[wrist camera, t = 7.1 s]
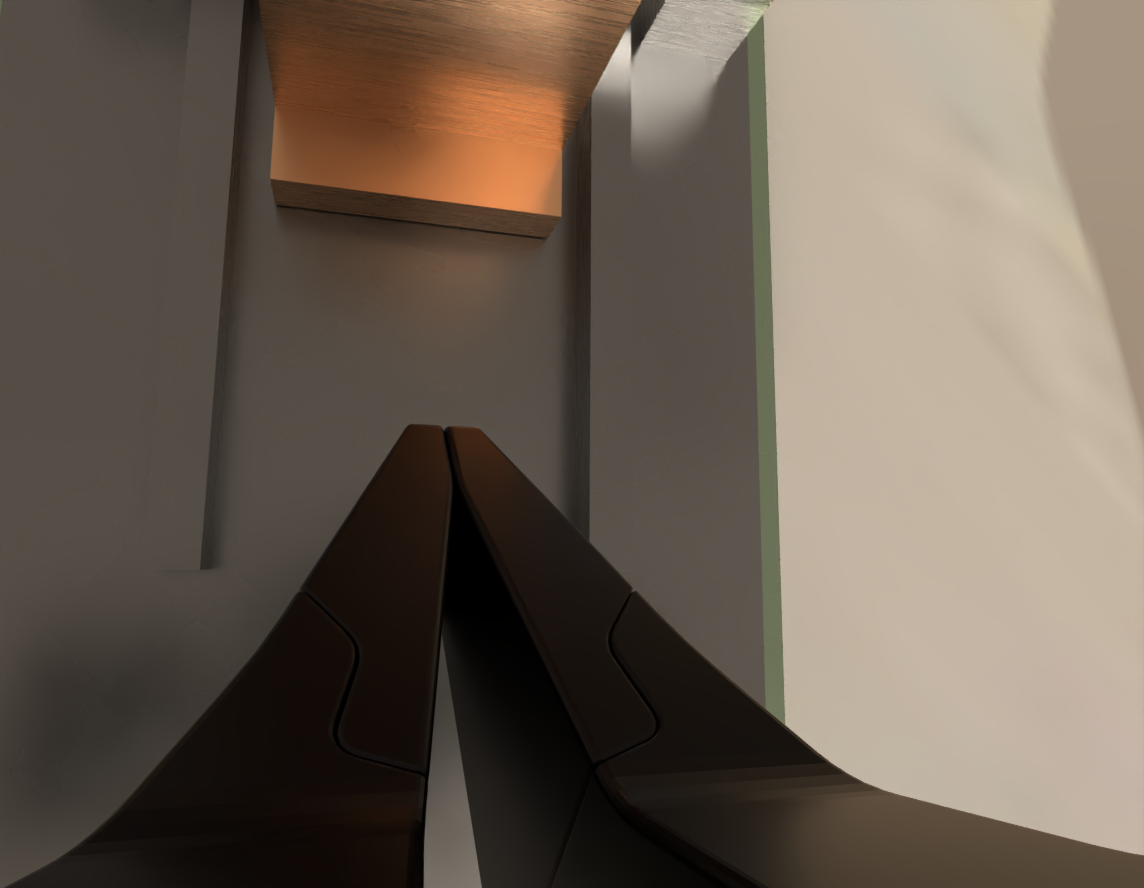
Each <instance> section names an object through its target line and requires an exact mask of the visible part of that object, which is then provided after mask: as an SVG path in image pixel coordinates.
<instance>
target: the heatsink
mask: <svg viewBox="0 0 1144 888" xmlns="http://www.w3.org/2000/svg"><path fill="white" fill-rule="evenodd" d="M772 2H773V0H641V2H640V4H639V6H638V8H637V10H636V12H635V14H634V16H633V17H632V19H631V21H630V23H629V25H628V27H627V29H626V31H625V33H624V34H623V36H622V38H621V40H620V42H619V44H618V46H617V48H616V50H615V51H614V53H613V55H612V57H611V59H610V61H609V63H608V65H607V67H606V68H605V70H604V72H603V74H602V76H601V78H600V80H599V82H598V84H597V85H596V87H595V89H594V91H593V93H592V95H591V97H590V99H589V101H588V102H587V104H586V106H585V108H584V110H583V112H582V114H581V116H580V118H579V119H578V121H577V123H576V125H575V127H574V129H573V131H572V133H571V135H570V136H569V138H568V140H567V142H566V144H565V146H564V148H563V150H562V210H561V218H560V220H559V221H558V223H557V225H556V226H555V228H554V229H553V231H552V233H551V234H550V236H549V237H548V238H544V237H535V236H527V235H519V234H511V233H503V232H495V231H486V230H478V229H470V228H462V227H454V226H446V225H438V224H429V223H421V222H413V221H405V220H397V219H389V218H381V217H372V216H364V215H356V214H348V213H340V212H332V211H324V210H315V209H307V208H299V207H291V206H283V205H275V201H274V196H273V191H272V186H271V181H270V172H271V158H272V143H273V129H274V115H275V102H274V96H273V89H272V83H271V76H270V70H269V63H268V57H267V50H266V44H265V38H264V31H263V25H262V18H261V12H260V5H259V0H0V888H4V887H6V886H8V885H10V884H12V883H13V882H15V881H17V880H19V879H21V878H23V877H25V876H27V875H29V874H31V873H32V872H34V871H36V870H38V869H40V868H42V867H44V866H46V865H48V864H49V863H51V862H53V861H55V860H56V859H58V858H59V857H61V856H62V855H64V854H65V853H66V852H68V851H69V850H71V849H72V848H74V847H75V846H76V845H78V844H79V843H80V842H81V841H82V840H84V839H85V838H86V837H87V836H89V835H90V834H91V833H92V832H93V831H95V830H96V829H97V828H98V827H99V826H100V825H101V824H102V823H103V822H104V821H105V820H106V819H107V818H109V817H110V816H111V815H112V814H113V813H114V812H115V810H116V809H117V808H118V807H119V806H120V805H121V804H122V803H123V802H124V801H125V800H126V799H127V798H128V797H129V795H130V794H131V793H132V792H133V791H134V790H135V789H136V788H137V787H138V785H139V784H140V783H141V782H142V781H143V780H144V779H145V778H146V776H147V775H148V774H149V773H150V772H151V771H152V770H153V769H154V767H155V766H156V765H157V764H158V763H159V762H160V761H161V760H162V758H163V757H164V756H165V755H166V754H167V753H168V752H169V751H170V749H171V748H172V747H173V746H174V745H175V744H176V743H177V742H178V740H179V739H180V738H181V737H182V736H183V735H184V734H185V733H186V731H187V730H188V729H189V728H190V727H191V726H192V725H193V724H194V723H195V721H196V720H197V719H198V718H199V717H200V716H201V715H202V714H203V712H204V711H205V710H206V709H207V708H208V707H209V706H210V705H211V703H212V702H213V701H214V700H215V699H216V698H217V697H218V696H219V694H220V693H221V692H222V691H223V690H224V689H225V687H226V686H227V685H228V684H229V683H230V681H231V680H232V679H233V678H234V677H235V675H236V674H237V673H238V672H239V671H240V670H241V668H242V667H243V666H244V665H245V664H246V662H247V661H248V660H249V659H250V658H251V656H252V655H253V654H254V653H255V651H256V650H257V649H258V647H259V646H260V644H261V643H262V642H263V640H264V639H265V638H266V636H267V635H268V633H269V632H270V631H271V629H272V628H273V626H274V625H275V624H276V622H277V621H278V619H279V618H280V617H281V615H282V614H283V612H284V611H285V609H286V608H287V606H288V605H289V603H290V601H291V600H292V598H293V597H294V595H295V594H296V593H297V592H299V589H300V587H301V585H302V584H303V582H304V581H305V579H306V578H307V576H308V575H309V573H310V572H311V570H312V569H313V567H314V566H315V564H316V563H317V561H318V560H319V558H320V557H321V555H322V554H323V552H324V551H325V549H326V547H327V546H328V544H329V543H330V541H331V540H332V538H333V537H334V535H335V534H336V532H337V531H338V529H339V528H340V526H341V525H342V523H343V522H344V520H345V519H346V517H347V516H348V514H349V513H350V511H351V510H352V508H353V506H354V505H355V503H356V502H357V500H358V499H359V497H360V496H361V494H362V493H363V491H364V490H365V488H366V487H367V485H368V484H369V482H370V481H371V479H372V478H373V476H374V475H375V473H376V472H377V470H378V469H379V467H380V465H381V464H382V462H383V461H384V459H385V458H386V456H387V455H388V453H389V452H390V450H391V449H392V447H393V446H394V444H395V443H396V441H397V440H398V438H399V437H400V435H401V434H402V432H403V431H404V429H405V428H406V427H407V426H408V425H409V424H425V425H438V426H441V427H442V428H443V430H444V429H445V428H446V427H448V426H461V427H476V428H479V429H481V430H482V431H483V432H484V433H485V434H486V435H487V436H488V437H489V438H490V439H491V440H492V442H493V443H494V444H495V445H496V446H497V447H498V448H499V449H500V450H501V451H502V452H503V453H504V454H505V455H506V456H507V457H508V458H509V459H510V460H511V461H512V462H513V463H514V464H515V465H516V466H517V467H518V468H519V469H520V470H521V471H522V473H523V474H524V475H525V476H526V477H527V478H528V479H529V480H530V481H531V482H532V483H533V484H534V485H535V486H536V487H537V488H538V489H539V490H540V491H541V492H542V493H543V494H544V495H545V496H546V497H547V498H548V499H549V500H550V501H551V502H552V504H553V505H554V506H555V507H556V508H557V509H558V510H559V511H560V512H561V513H562V514H563V515H564V516H565V517H566V518H567V519H568V520H569V521H570V522H571V523H572V524H573V525H574V526H575V527H576V528H577V529H578V530H579V531H580V532H581V533H582V535H583V536H584V537H585V538H586V539H587V540H588V541H589V542H590V543H591V544H592V545H593V546H594V547H595V548H596V549H597V550H598V551H599V552H600V553H601V554H602V555H603V556H604V557H605V558H606V559H607V560H608V561H609V562H610V563H611V565H612V566H613V567H614V568H615V569H616V570H617V571H618V572H619V573H620V574H621V575H622V576H623V577H624V578H625V579H626V580H627V581H628V582H629V583H630V584H631V585H632V586H633V588H634V591H637V592H639V593H640V594H641V595H642V596H643V597H644V598H645V599H646V600H647V601H648V602H649V603H650V604H651V605H652V607H653V608H654V609H655V610H656V611H657V612H658V613H659V614H660V615H661V616H662V617H663V618H664V619H666V620H667V621H668V622H669V623H670V624H671V625H672V626H673V627H674V628H675V629H676V630H677V631H678V632H679V633H680V634H681V635H682V636H683V637H684V638H685V639H686V640H687V641H688V642H689V643H690V644H691V645H693V646H694V647H695V648H696V649H697V650H698V651H699V652H700V653H702V654H703V655H704V656H705V657H706V658H707V659H708V660H709V661H711V662H712V663H713V664H714V665H715V666H716V667H717V668H719V669H720V670H721V671H722V672H723V673H724V674H725V675H726V676H728V677H729V678H730V679H731V680H732V681H734V682H735V683H736V684H737V685H738V686H740V687H741V688H742V689H743V690H744V691H745V692H747V693H748V694H749V695H750V696H751V697H753V698H754V699H755V700H756V701H757V702H758V703H760V704H761V705H762V706H763V707H764V708H766V709H767V710H768V711H769V712H770V713H771V714H773V715H774V716H775V717H776V718H777V719H779V720H780V721H781V722H782V723H783V724H784V725H785V708H784V675H783V643H782V610H781V577H780V545H779V512H778V479H777V447H776V414H775V381H774V349H773V316H772V283H771V250H770V218H769V185H768V152H767V120H766V87H765V54H764V22H763V13H764V12H765V11H766V9H767V8H768V7H769V5H770V4H771V3H772ZM634 591H633V592H634ZM424 888H482V886H481V880H480V873H479V867H478V860H477V854H476V848H475V841H474V835H473V829H472V822H471V816H470V810H469V803H468V797H467V791H466V784H465V778H464V772H463V765H462V759H461V753H460V746H459V740H458V734H457V727H456V721H455V715H454V708H453V702H452V696H451V689H450V683H449V677H448V670H447V664H446V658H445V651H444V645H443V639H442V636H441V648H440V659H439V670H438V682H437V693H436V704H435V716H434V727H433V738H432V750H431V761H430V772H429V780H428V795H427V808H426V822H425V839H424Z"/></svg>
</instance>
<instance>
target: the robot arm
mask: <svg viewBox="0 0 1144 888" xmlns="http://www.w3.org/2000/svg"><path fill="white" fill-rule="evenodd" d="M633 591H634V588H633V586H632V585H631V584H630V583H629V582H628V581H627V580H626V579H625V578H624V577H623V576H622V575H621V574H620V573H619V572H618V571H617V570H616V569H615V568H614V567H613V566H612V565H611V563H610V562H609V561H608V560H607V559H606V558H605V557H604V556H603V555H602V554H601V553H600V552H599V551H598V550H597V549H596V548H595V547H594V546H593V545H592V544H591V543H590V542H589V541H588V540H587V539H586V538H585V537H584V536H583V535H582V533H581V532H580V531H579V530H578V529H577V528H576V527H575V526H574V525H573V524H572V523H571V522H570V521H569V520H568V519H567V518H566V517H565V516H564V515H563V514H562V513H561V512H560V511H559V510H558V509H557V508H556V507H555V506H554V505H553V504H552V502H551V501H550V500H549V499H548V498H547V497H546V496H545V495H544V494H543V493H542V492H541V491H540V490H539V489H538V488H537V487H536V486H535V485H534V484H533V483H532V482H531V481H530V480H529V479H528V478H527V477H526V476H525V475H524V474H523V473H522V471H521V470H520V469H519V468H518V467H517V466H516V465H515V464H514V463H513V462H512V461H511V460H510V459H509V458H508V457H507V456H506V455H505V454H504V453H503V452H502V451H501V450H500V449H499V448H498V447H497V446H496V445H495V444H494V443H493V442H492V440H491V439H490V438H489V437H488V436H487V435H486V434H485V433H484V432H483V431H482V430H481V429H479V428H476V427H461V426H448V427H446V428H445V429H444V430H443V428H442V427H441V426H438V425H425V424H409V425H408V426H407V427H406V428H405V429H404V431H403V432H402V434H401V435H400V437H399V438H398V440H397V441H396V443H395V444H394V446H393V447H392V449H391V450H390V452H389V453H388V455H387V456H386V458H385V459H384V461H383V462H382V464H381V465H380V467H379V469H378V470H377V472H376V473H375V475H374V476H373V478H372V479H371V481H370V482H369V484H368V485H367V487H366V488H365V490H364V491H363V493H362V494H361V496H360V497H359V499H358V500H357V502H356V503H355V505H354V506H353V508H352V510H351V511H350V513H349V514H348V516H347V517H346V519H345V520H344V522H343V523H342V525H341V526H340V528H339V529H338V531H337V532H336V534H335V535H334V537H333V538H332V540H331V541H330V543H329V544H328V546H327V547H326V549H325V551H324V552H323V554H322V555H321V557H320V558H319V560H318V561H317V563H316V564H315V566H314V567H313V569H312V570H311V572H310V573H309V575H308V576H307V578H306V579H305V581H304V582H303V584H302V585H301V587H300V589H299V592H297V593H296V594H295V595H294V597H293V598H292V600H291V601H290V603H289V605H288V606H287V608H286V609H285V611H284V612H283V614H282V615H281V617H280V618H279V619H278V621H277V622H276V624H275V625H274V626H273V628H272V629H271V631H270V632H269V633H268V635H267V636H266V638H265V639H264V640H263V642H262V643H261V644H260V646H259V647H258V649H257V650H256V651H255V653H254V654H253V655H252V656H251V658H250V659H249V660H248V661H247V662H246V664H245V665H244V666H243V667H242V668H241V670H240V671H239V672H238V673H237V674H236V675H235V677H234V678H233V679H232V680H231V681H230V683H229V684H228V685H227V686H226V687H225V689H224V690H223V691H222V692H221V693H220V694H219V696H218V697H217V698H216V699H215V700H214V701H213V702H212V703H211V705H210V706H209V707H208V708H207V709H206V710H205V711H204V712H203V714H202V715H201V716H200V717H199V718H198V719H197V720H196V721H195V723H194V724H193V725H192V726H191V727H190V728H189V729H188V730H187V731H186V733H185V734H184V735H183V736H182V737H181V738H180V739H179V740H178V742H177V743H176V744H175V745H174V746H173V747H172V748H171V749H170V751H169V752H168V753H167V754H166V755H165V756H164V757H163V758H162V760H161V761H160V762H159V763H158V764H157V765H156V766H155V767H154V769H153V770H152V771H151V772H150V773H149V774H148V775H147V776H146V778H145V779H144V780H143V781H142V782H141V783H140V784H139V785H138V787H137V788H136V789H135V790H134V791H133V792H132V793H131V794H130V795H129V797H128V798H127V799H126V800H125V801H124V802H123V803H122V804H121V805H120V806H119V807H118V808H117V809H116V810H115V812H114V813H113V814H112V815H111V816H110V817H109V818H107V819H106V820H105V821H104V822H103V823H102V824H101V825H100V826H99V827H98V828H97V829H96V830H95V831H93V832H92V833H91V834H90V835H89V836H87V837H86V838H85V839H84V840H82V841H81V842H80V843H79V844H78V845H76V846H75V847H74V848H72V849H71V850H69V851H68V852H66V853H65V854H64V855H62V856H61V857H59V858H58V859H56V860H55V861H53V862H51V863H49V864H48V865H46V866H44V867H42V868H40V869H38V870H36V871H34V872H32V873H31V874H29V875H27V876H25V877H23V878H21V879H19V880H17V881H15V882H13V883H12V884H10V885H8V886H6V887H4V888H424V839H425V822H426V808H427V795H428V780H429V772H430V761H431V750H432V738H433V727H434V716H435V704H436V693H437V682H438V670H439V659H440V648H441V636H442V639H443V645H444V651H445V658H446V664H447V670H448V677H449V683H450V689H451V696H452V702H453V708H454V715H455V721H456V727H457V734H458V740H459V746H460V753H461V759H462V765H463V772H464V778H465V784H466V791H467V797H468V803H469V810H470V816H471V822H472V829H473V835H474V841H475V848H476V854H477V860H478V867H479V873H480V880H481V886H482V888H1144V855H1138V854H1132V853H1127V852H1123V851H1118V850H1114V849H1109V848H1104V847H1100V846H1096V845H1092V844H1088V843H1084V842H1080V841H1076V840H1073V839H1069V838H1065V837H1061V836H1057V835H1053V834H1049V833H1045V832H1041V831H1038V830H1034V829H1030V828H1026V827H1022V826H1018V825H1014V824H1010V823H1006V822H1003V821H999V820H995V819H991V818H987V817H983V816H979V815H975V814H971V813H968V812H964V811H960V810H956V809H952V808H948V807H944V806H940V805H936V804H933V803H929V802H925V801H921V800H917V799H913V798H909V797H905V796H901V795H898V794H894V793H891V792H887V791H884V790H881V789H879V788H876V787H874V786H872V785H869V784H867V783H864V782H862V781H860V780H859V779H857V778H855V777H853V776H851V775H849V774H848V773H846V772H844V771H843V770H841V769H840V768H838V767H837V766H835V765H834V764H832V763H831V762H829V761H828V760H827V759H826V758H824V757H823V756H822V755H820V754H819V753H818V752H817V751H815V750H814V749H813V748H812V747H811V746H809V745H808V744H807V743H806V742H805V741H803V740H802V739H801V738H800V737H799V736H798V735H796V734H795V733H794V732H793V731H792V730H790V729H789V728H788V727H787V726H786V725H784V724H783V723H782V722H781V721H780V720H779V719H777V718H776V717H775V716H774V715H773V714H771V713H770V712H769V711H768V710H767V709H766V708H764V707H763V706H762V705H761V704H760V703H758V702H757V701H756V700H755V699H754V698H753V697H751V696H750V695H749V694H748V693H747V692H745V691H744V690H743V689H742V688H741V687H740V686H738V685H737V684H736V683H735V682H734V681H732V680H731V679H730V678H729V677H728V676H726V675H725V674H724V673H723V672H722V671H721V670H720V669H719V668H717V667H716V666H715V665H714V664H713V663H712V662H711V661H709V660H708V659H707V658H706V657H705V656H704V655H703V654H702V653H700V652H699V651H698V650H697V649H696V648H695V647H694V646H693V645H691V644H690V643H689V642H688V641H687V640H686V639H685V638H684V637H683V636H682V635H681V634H680V633H679V632H678V631H677V630H676V629H675V628H674V627H673V626H672V625H671V624H670V623H669V622H668V621H667V620H666V619H664V618H663V617H662V616H661V615H660V614H659V613H658V612H657V611H656V610H655V609H654V608H653V607H652V605H651V604H650V603H649V602H648V601H647V600H646V599H645V598H644V597H643V596H642V595H641V594H640V593H639V592H637V591H634V592H633Z"/></svg>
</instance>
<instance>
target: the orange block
mask: <svg viewBox="0 0 1144 888" xmlns="http://www.w3.org/2000/svg"><path fill="white" fill-rule="evenodd" d="M640 2H641V0H259V5H260V12H261V18H262V25H263V31H264V38H265V44H266V50H267V57H268V63H269V70H270V76H271V83H272V89H273V96H274V102H275V115H274V129H273V143H272V158H271V172H270V181H271V186H272V191H273V196H274V201H275V205H283V206H291V207H299V208H307V209H315V210H324V211H332V212H340V213H348V214H356V215H364V216H372V217H381V218H389V219H397V220H405V221H413V222H421V223H429V224H438V225H446V226H454V227H462V228H470V229H478V230H486V231H495V232H503V233H511V234H519V235H527V236H535V237H544V238H548V237H549V236H550V234H551V233H552V231H553V229H554V228H555V226H556V225H557V223H558V221H559V220H560V218H561V210H562V150H563V148H564V146H565V144H566V142H567V140H568V138H569V136H570V135H571V133H572V131H573V129H574V127H575V125H576V123H577V121H578V119H579V118H580V116H581V114H582V112H583V110H584V108H585V106H586V104H587V102H588V101H589V99H590V97H591V95H592V93H593V91H594V89H595V87H596V85H597V84H598V82H599V80H600V78H601V76H602V74H603V72H604V70H605V68H606V67H607V65H608V63H609V61H610V59H611V57H612V55H613V53H614V51H615V50H616V48H617V46H618V44H619V42H620V40H621V38H622V36H623V34H624V33H625V31H626V29H627V27H628V25H629V23H630V21H631V19H632V17H633V16H634V14H635V12H636V10H637V8H638V6H639V4H640Z"/></svg>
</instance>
